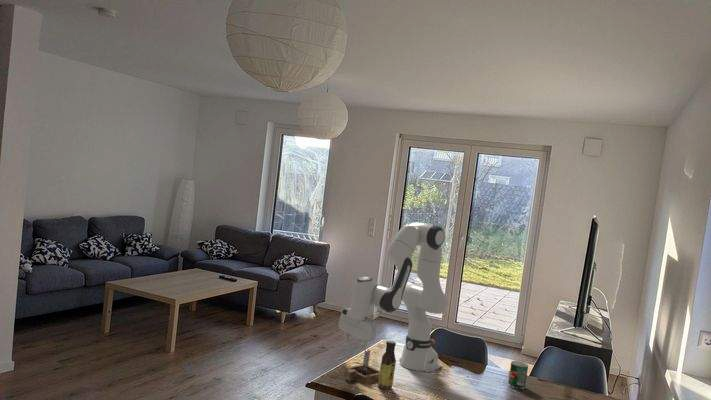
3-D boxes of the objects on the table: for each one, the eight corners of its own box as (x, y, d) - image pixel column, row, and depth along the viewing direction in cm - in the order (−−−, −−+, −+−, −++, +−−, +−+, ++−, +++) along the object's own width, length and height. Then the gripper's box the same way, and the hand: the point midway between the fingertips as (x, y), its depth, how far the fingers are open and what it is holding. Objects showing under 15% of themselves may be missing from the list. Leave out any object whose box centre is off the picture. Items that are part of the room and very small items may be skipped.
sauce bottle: (390, 391, 239) (397, 345, 239) (376, 388, 241) (383, 342, 240) (393, 386, 246) (399, 341, 245) (378, 383, 247) (385, 338, 246)
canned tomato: (504, 384, 269) (507, 361, 269) (514, 382, 274) (517, 360, 274) (518, 390, 263) (521, 367, 263) (528, 388, 268) (531, 365, 268)
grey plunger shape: (364, 373, 257) (367, 347, 256) (373, 378, 252) (377, 351, 252) (354, 375, 253) (358, 349, 252) (363, 380, 248) (367, 353, 248)
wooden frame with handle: (364, 370, 261) (365, 361, 261) (383, 379, 252) (384, 371, 252) (337, 375, 250) (339, 366, 250) (357, 385, 241) (358, 376, 241)
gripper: (381, 320, 240) (376, 352, 241) (348, 307, 255) (344, 338, 255) (371, 321, 236) (366, 353, 236) (338, 308, 251) (334, 339, 251)
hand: (354, 345), depth 246 cm, fingers open, 8 cm apart
